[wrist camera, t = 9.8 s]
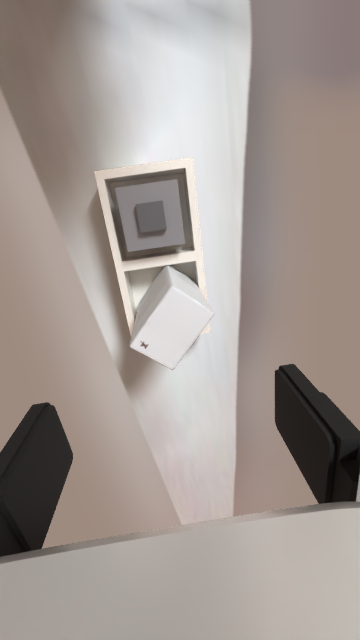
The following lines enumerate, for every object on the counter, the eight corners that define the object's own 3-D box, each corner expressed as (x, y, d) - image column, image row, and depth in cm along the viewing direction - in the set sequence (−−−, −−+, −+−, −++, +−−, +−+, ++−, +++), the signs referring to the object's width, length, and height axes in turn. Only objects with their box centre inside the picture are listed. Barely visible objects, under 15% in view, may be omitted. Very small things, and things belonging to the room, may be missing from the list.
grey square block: (121, 192, 27) (113, 187, 23) (174, 185, 28) (177, 178, 23) (132, 247, 29) (127, 252, 25) (181, 240, 30) (185, 244, 25)
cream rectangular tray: (102, 177, 28) (93, 170, 24) (188, 165, 28) (193, 156, 24) (135, 330, 34) (132, 345, 30) (205, 319, 34) (210, 333, 30)
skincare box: (168, 320, 33) (172, 373, 22) (138, 302, 32) (126, 348, 21) (196, 280, 31) (217, 314, 20) (166, 259, 30) (170, 283, 19)
